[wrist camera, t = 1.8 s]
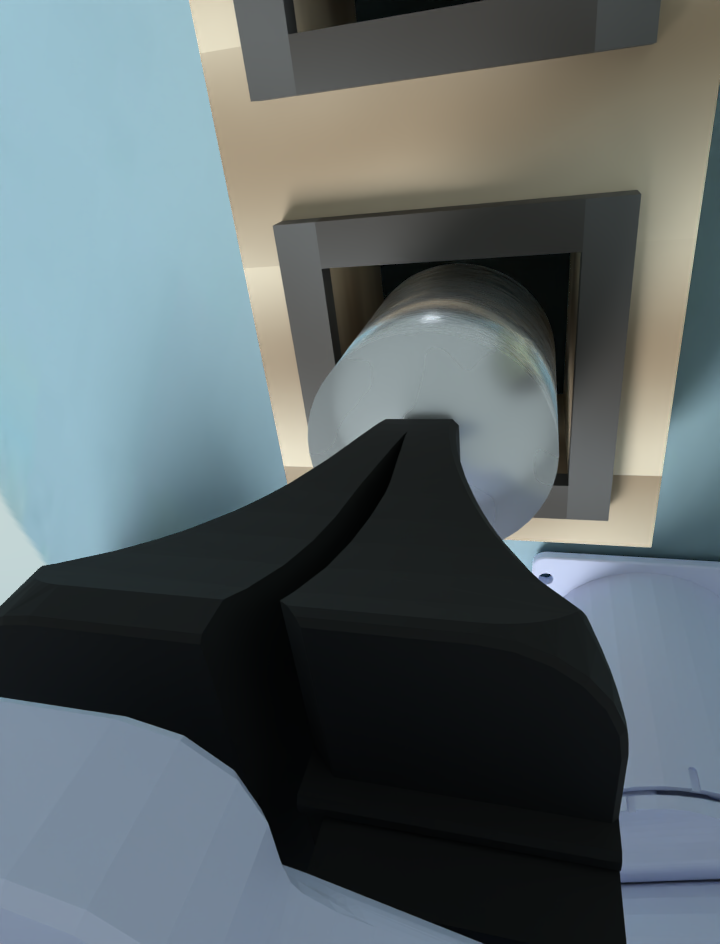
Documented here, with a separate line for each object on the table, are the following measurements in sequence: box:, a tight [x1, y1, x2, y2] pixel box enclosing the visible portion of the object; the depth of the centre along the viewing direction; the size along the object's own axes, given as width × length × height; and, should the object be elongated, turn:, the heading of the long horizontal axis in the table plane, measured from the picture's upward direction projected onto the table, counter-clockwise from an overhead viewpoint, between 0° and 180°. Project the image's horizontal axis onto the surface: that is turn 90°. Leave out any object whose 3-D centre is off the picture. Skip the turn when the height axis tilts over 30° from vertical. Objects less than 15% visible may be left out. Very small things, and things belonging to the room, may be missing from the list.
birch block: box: [189, 0, 720, 548], centre depth 15 cm, size 20×10×6 cm, turn 7°
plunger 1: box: [308, 264, 559, 540], centre depth 14 cm, size 5×5×5 cm
